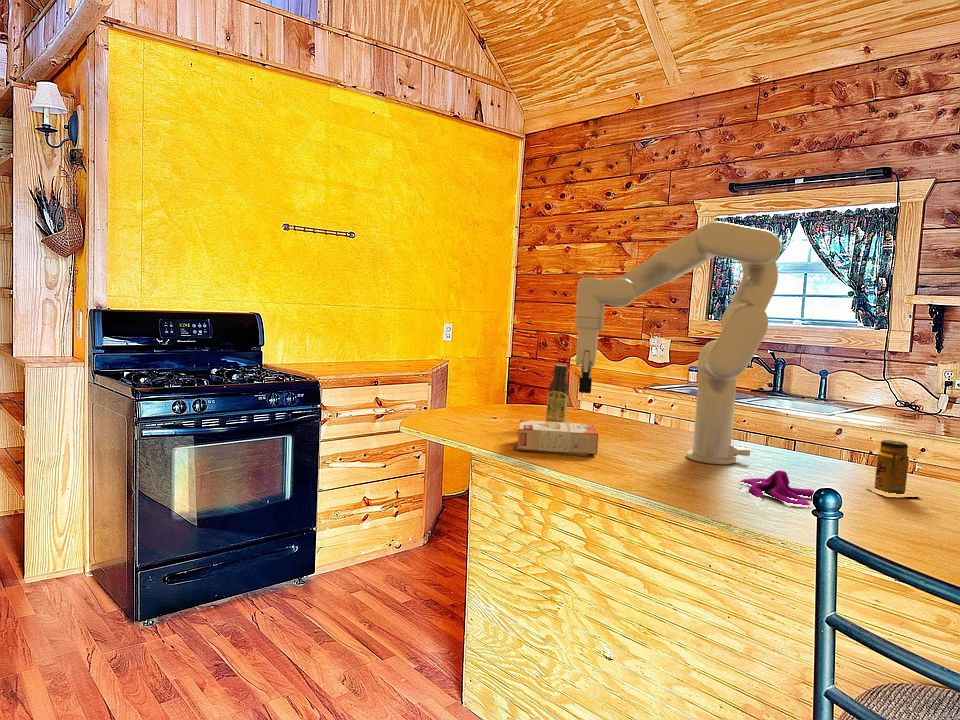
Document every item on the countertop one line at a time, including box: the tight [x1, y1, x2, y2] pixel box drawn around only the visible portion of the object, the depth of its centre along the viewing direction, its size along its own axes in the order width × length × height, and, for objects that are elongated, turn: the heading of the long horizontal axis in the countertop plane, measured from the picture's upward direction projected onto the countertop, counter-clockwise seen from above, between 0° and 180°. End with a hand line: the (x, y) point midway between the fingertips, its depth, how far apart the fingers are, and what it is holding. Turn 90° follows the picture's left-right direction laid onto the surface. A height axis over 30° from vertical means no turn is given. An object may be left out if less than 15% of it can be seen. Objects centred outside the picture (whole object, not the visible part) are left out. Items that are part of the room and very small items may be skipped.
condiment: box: [874, 439, 910, 494], centre depth 156 cm, size 7×8×12 cm
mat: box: [512, 441, 591, 458], centre depth 189 cm, size 20×16×1 cm
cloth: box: [739, 469, 815, 509], centre depth 151 cm, size 22×19×6 cm
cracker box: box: [517, 419, 599, 455], centre depth 187 cm, size 14×6×21 cm
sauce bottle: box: [545, 364, 569, 423], centre depth 215 cm, size 7×6×20 cm
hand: (584, 392), depth 186 cm, fingers closed
